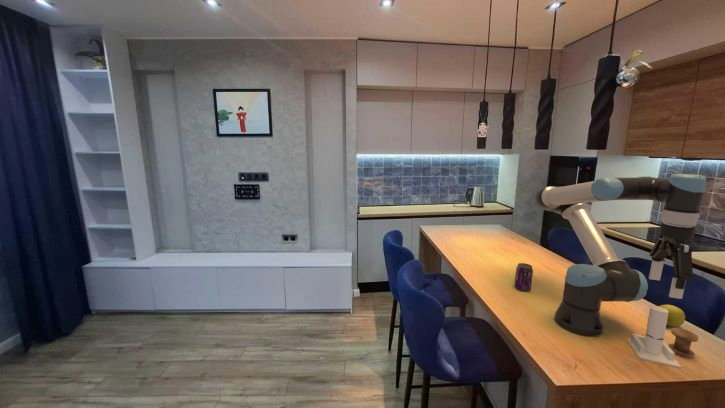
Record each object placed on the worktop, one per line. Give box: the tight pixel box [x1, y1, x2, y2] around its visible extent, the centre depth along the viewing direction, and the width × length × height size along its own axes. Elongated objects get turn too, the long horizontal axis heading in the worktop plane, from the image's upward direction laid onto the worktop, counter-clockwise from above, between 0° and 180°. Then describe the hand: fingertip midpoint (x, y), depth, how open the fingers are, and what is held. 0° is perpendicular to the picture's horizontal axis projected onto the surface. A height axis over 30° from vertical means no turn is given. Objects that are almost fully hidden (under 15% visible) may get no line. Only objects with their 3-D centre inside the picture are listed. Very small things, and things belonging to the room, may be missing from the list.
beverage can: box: [514, 262, 534, 292], centre depth 142 cm, size 7×7×12 cm
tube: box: [644, 305, 669, 355], centre depth 97 cm, size 4×4×15 cm
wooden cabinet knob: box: [667, 327, 699, 359], centre depth 98 cm, size 6×6×7 cm
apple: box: [657, 304, 686, 327], centre depth 113 cm, size 8×9×8 cm
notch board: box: [627, 333, 682, 369], centre depth 98 cm, size 10×10×3 cm
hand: (664, 288), depth 95 cm, fingers open, 13 cm apart
